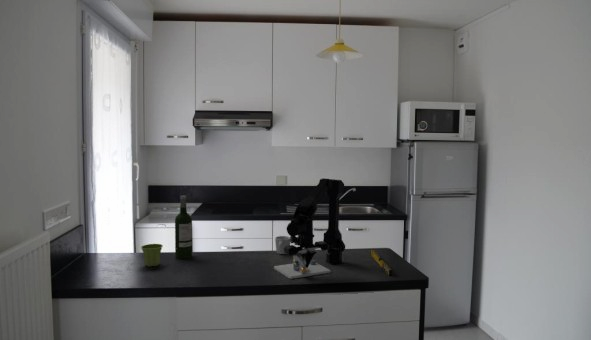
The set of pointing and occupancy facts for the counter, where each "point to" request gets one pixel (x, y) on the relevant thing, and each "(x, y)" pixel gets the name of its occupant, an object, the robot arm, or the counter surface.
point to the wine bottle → (183, 232)
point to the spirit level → (381, 263)
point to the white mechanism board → (291, 273)
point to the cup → (281, 243)
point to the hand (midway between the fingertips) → (306, 267)
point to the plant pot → (152, 254)
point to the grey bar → (299, 265)
